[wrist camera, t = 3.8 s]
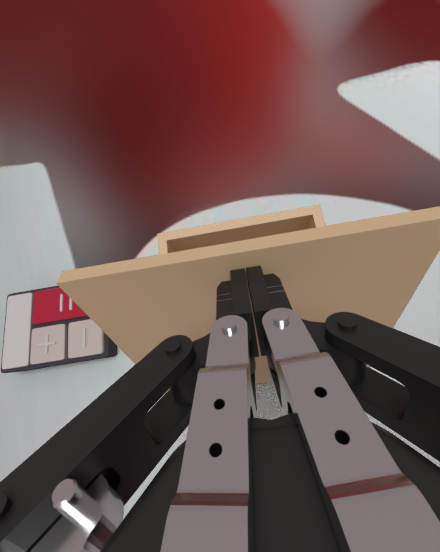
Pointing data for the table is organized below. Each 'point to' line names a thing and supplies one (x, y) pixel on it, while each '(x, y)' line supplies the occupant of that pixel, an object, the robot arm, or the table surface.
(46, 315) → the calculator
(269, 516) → the robot arm
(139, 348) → the lid
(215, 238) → the box
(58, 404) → the table surface
